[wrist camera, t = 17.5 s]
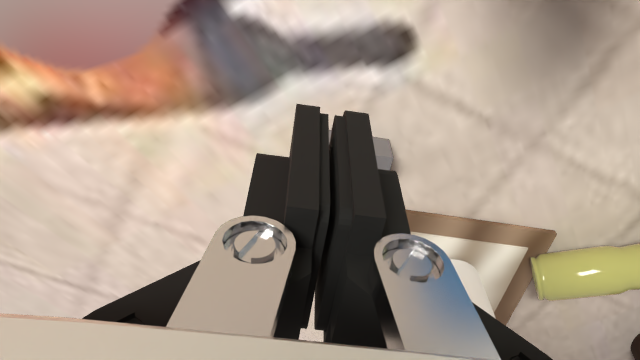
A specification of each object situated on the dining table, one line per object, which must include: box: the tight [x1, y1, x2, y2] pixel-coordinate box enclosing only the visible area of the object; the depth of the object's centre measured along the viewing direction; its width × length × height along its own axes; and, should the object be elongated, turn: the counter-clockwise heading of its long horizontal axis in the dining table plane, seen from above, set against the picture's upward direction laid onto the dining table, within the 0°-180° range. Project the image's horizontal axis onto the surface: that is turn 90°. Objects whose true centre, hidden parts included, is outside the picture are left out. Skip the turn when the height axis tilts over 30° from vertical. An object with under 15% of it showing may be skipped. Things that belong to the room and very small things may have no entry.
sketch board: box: [406, 210, 557, 326], centre depth 50 cm, size 17×15×1 cm
